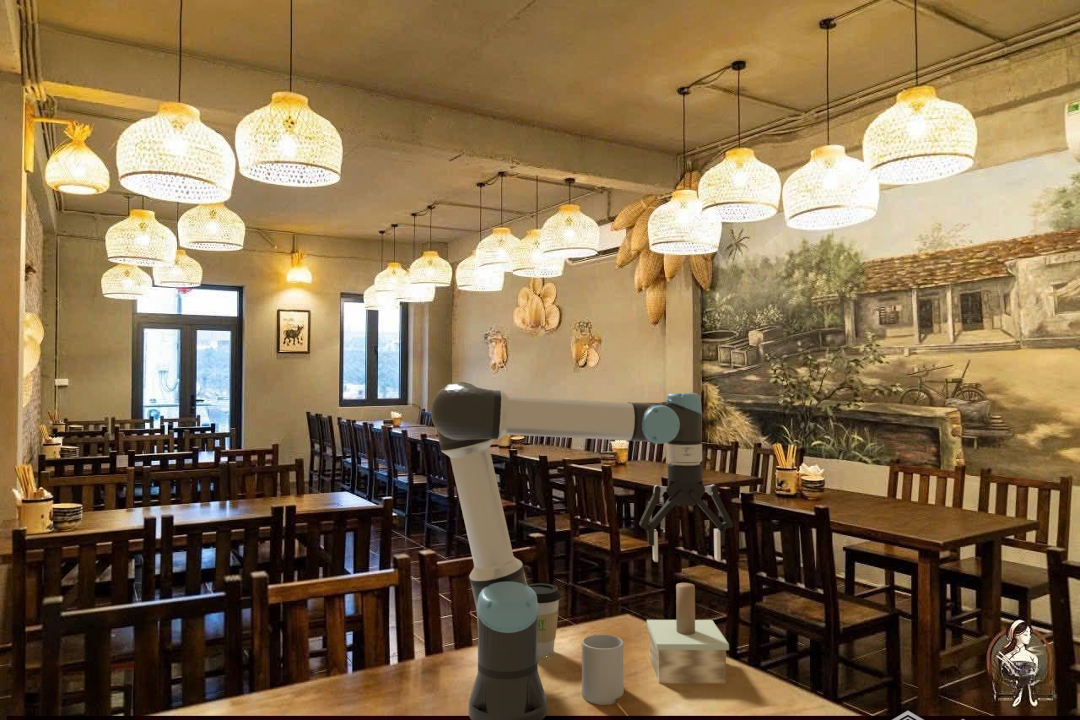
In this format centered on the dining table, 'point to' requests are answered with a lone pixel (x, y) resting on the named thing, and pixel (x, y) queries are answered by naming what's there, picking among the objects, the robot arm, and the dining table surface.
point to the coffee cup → (546, 616)
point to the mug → (602, 669)
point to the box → (688, 665)
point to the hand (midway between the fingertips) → (686, 560)
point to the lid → (686, 627)
